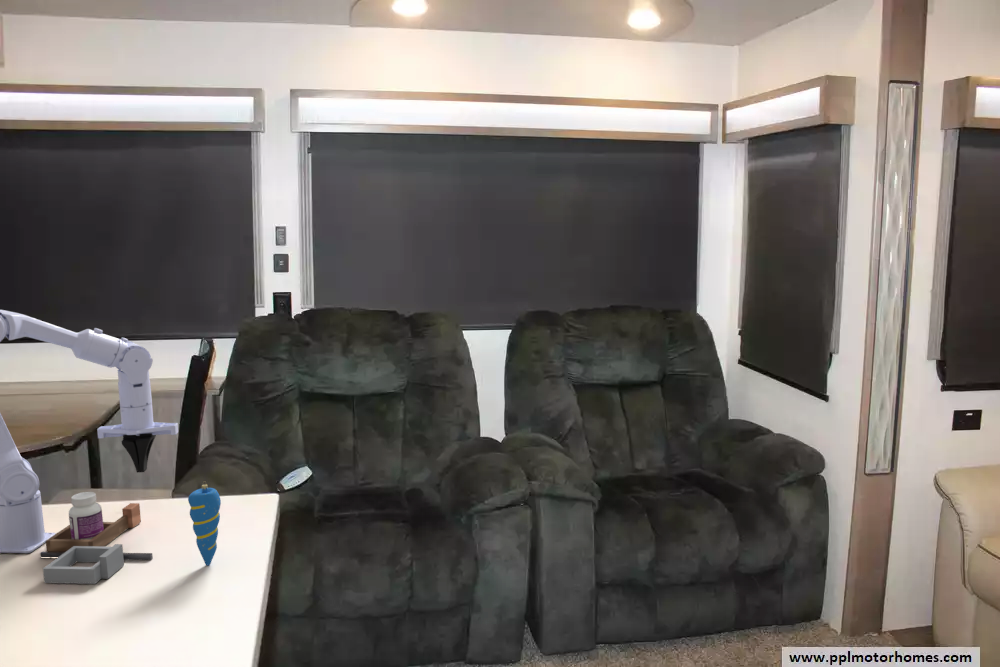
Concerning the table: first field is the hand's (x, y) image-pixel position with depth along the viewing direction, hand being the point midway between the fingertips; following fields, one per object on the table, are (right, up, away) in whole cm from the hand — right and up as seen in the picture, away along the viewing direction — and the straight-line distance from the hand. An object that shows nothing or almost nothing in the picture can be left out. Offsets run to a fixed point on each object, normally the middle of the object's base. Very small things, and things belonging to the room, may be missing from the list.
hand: (141, 470), depth 155 cm
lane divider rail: (0, -12, -18) cm, 21 cm away
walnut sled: (-4, -11, -9) cm, 15 cm away
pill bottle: (-4, -12, -12) cm, 17 cm away
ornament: (+21, -13, -20) cm, 32 cm away
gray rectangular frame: (+1, -13, -23) cm, 26 cm away
